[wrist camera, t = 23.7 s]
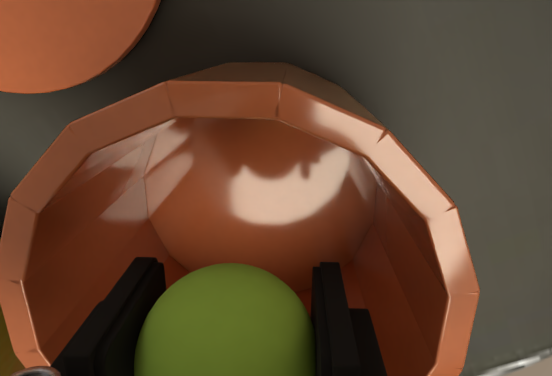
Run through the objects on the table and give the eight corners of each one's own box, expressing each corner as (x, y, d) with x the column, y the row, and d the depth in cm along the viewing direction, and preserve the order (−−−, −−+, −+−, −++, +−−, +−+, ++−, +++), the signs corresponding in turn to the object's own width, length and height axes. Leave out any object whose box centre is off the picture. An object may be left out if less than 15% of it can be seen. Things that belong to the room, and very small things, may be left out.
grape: (160, 231, 11) (81, 341, 7) (317, 235, 11) (330, 350, 7) (173, 355, 13) (114, 506, 8) (311, 360, 12) (319, 517, 8)
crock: (117, 60, 17) (-65, 78, 9) (404, 62, 17) (527, 84, 8) (147, 299, 22) (47, 476, 13) (377, 306, 21) (436, 493, 12)
